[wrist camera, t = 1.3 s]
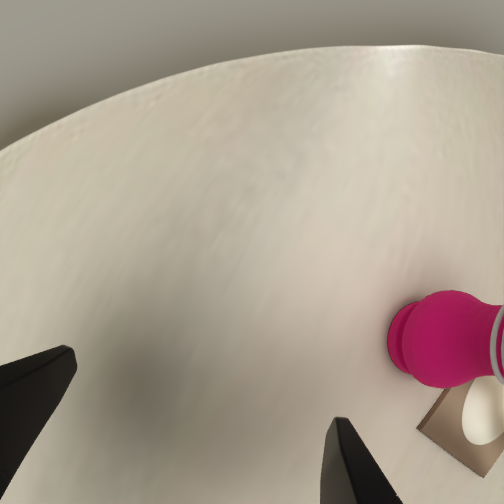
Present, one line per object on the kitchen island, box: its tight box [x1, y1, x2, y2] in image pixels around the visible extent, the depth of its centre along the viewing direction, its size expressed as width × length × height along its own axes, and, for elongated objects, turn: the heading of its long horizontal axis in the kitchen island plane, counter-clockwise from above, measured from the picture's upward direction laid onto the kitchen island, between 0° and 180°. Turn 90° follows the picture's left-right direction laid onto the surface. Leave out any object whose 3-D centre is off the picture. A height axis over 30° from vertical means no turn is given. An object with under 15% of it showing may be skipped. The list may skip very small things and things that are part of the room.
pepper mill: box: [388, 290, 504, 388], centre depth 14 cm, size 7×7×20 cm
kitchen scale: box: [417, 376, 504, 478], centre depth 21 cm, size 13×13×1 cm
